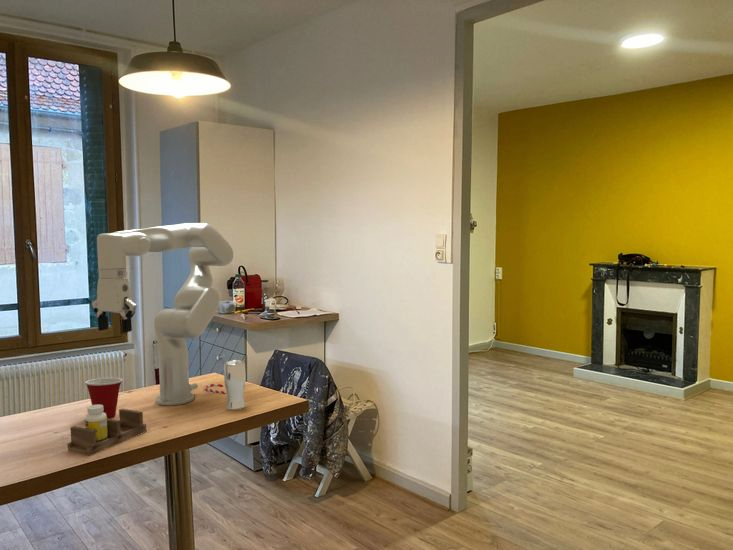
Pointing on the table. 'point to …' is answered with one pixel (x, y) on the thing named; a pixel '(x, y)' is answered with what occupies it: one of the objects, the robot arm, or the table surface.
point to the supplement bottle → (97, 422)
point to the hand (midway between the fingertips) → (115, 330)
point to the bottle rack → (116, 429)
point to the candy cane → (214, 390)
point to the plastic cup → (105, 393)
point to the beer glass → (235, 383)
